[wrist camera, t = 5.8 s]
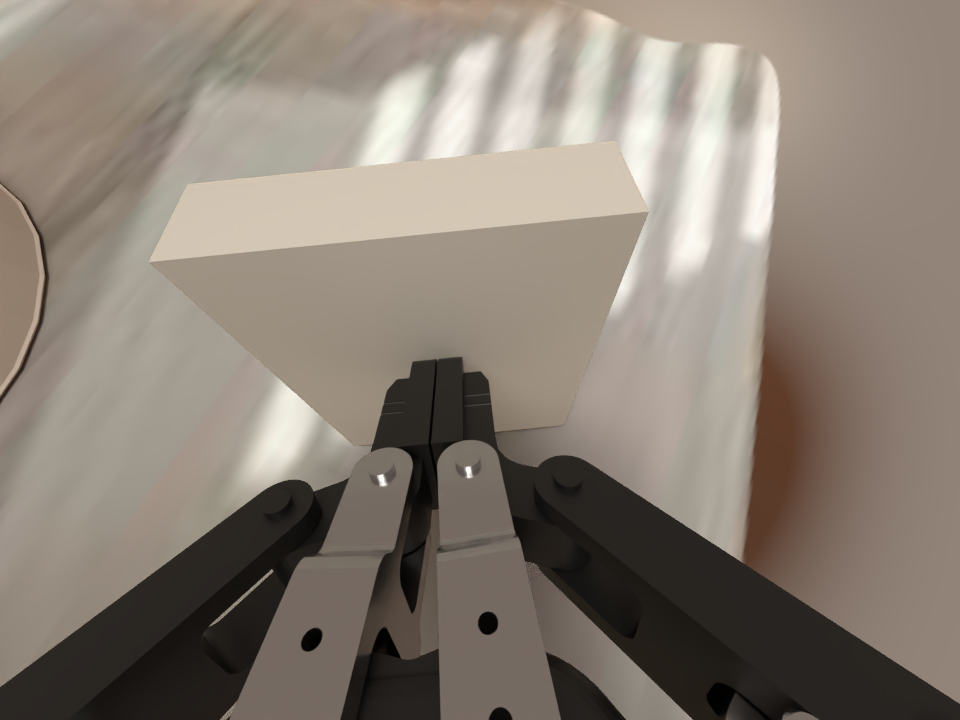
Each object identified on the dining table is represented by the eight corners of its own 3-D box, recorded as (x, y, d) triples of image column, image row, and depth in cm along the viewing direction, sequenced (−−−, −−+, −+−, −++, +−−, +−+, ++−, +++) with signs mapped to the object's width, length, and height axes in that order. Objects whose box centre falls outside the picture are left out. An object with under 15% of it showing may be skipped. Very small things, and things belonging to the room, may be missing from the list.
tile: (563, 425, 18) (648, 211, 7) (354, 446, 18) (149, 261, 7) (553, 375, 19) (613, 135, 9) (358, 394, 19) (190, 178, 9)
